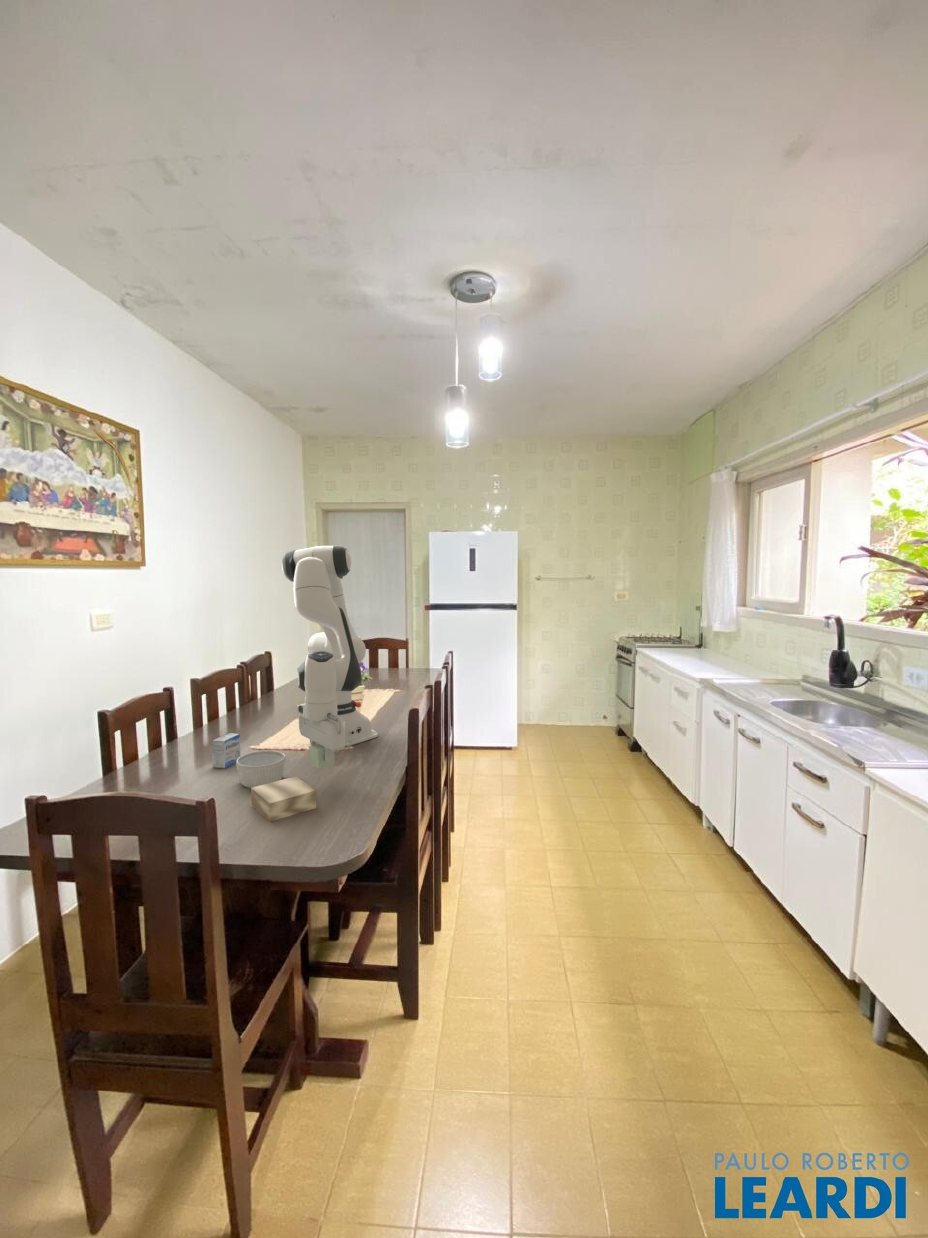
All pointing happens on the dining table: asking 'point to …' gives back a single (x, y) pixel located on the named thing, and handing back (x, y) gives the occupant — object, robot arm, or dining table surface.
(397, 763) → the dining table surface
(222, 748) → the medicine box
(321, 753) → the sage cube
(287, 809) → the birch block
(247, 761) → the ramekin
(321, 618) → the robot arm
